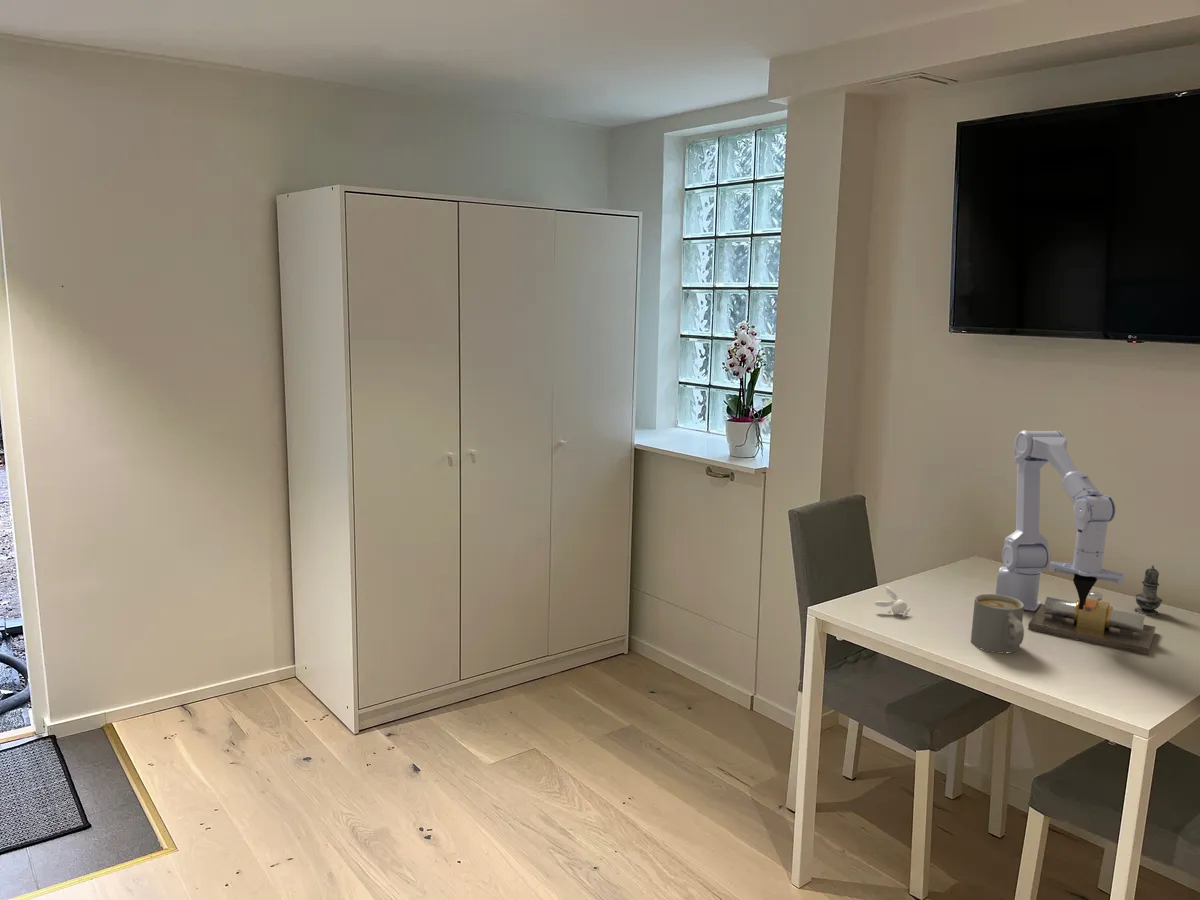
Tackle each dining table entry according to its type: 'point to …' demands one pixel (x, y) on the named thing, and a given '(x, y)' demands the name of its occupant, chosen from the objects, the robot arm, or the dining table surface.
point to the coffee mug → (997, 623)
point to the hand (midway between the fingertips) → (1082, 608)
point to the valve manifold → (1094, 625)
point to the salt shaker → (1149, 593)
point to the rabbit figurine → (894, 603)
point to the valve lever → (1092, 602)
